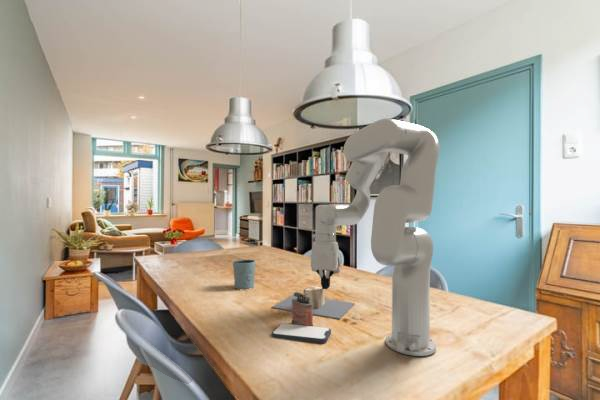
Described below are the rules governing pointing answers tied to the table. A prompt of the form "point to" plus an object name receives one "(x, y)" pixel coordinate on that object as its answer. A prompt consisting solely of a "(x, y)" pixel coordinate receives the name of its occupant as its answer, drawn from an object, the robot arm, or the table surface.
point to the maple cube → (316, 295)
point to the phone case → (302, 333)
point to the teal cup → (244, 273)
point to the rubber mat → (327, 310)
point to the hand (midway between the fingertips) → (325, 288)
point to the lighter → (302, 310)
